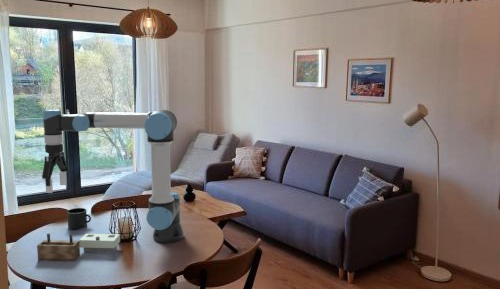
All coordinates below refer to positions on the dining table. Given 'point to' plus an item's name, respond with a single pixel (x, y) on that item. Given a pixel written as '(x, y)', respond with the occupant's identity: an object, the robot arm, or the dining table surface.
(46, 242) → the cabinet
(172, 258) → the dining table surface
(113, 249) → the pad
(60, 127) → the robot arm
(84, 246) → the cream rectangular block
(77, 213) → the mug
